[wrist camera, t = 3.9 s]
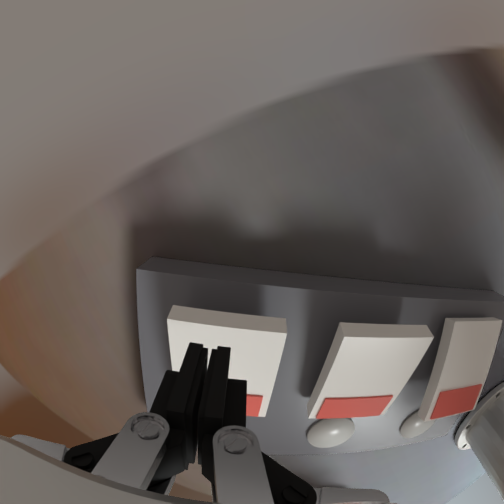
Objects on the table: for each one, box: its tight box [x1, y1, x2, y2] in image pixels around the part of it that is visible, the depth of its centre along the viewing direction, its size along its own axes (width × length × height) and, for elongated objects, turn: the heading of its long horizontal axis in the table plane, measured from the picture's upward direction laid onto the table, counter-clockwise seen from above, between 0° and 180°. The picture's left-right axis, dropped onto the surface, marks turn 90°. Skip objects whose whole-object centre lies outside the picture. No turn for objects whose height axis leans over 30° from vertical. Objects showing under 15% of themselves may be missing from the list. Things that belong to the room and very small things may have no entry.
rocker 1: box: [167, 305, 287, 417], centre depth 16 cm, size 6×8×1 cm
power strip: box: [136, 257, 504, 455], centre depth 20 cm, size 35×16×3 cm, turn 84°
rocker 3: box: [417, 317, 502, 422], centre depth 16 cm, size 6×8×1 cm
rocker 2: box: [307, 322, 434, 419], centre depth 16 cm, size 6×8×1 cm
